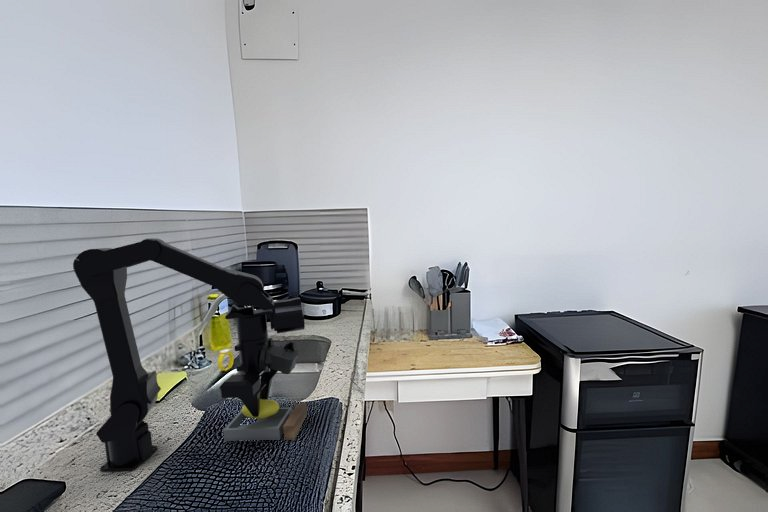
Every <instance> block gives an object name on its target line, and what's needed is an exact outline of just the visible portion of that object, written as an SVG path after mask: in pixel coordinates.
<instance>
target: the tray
mask: <svg viewBox="0 0 768 512" xmlns="http://www.w3.org/2000/svg"><path fill="white" fill-rule="evenodd" d="M293 410H294V409H293V407H292V406H291V407H279V410H278V412H277V413H276V414H274V415H272V416H269V417H267V418H264V419H258V420H257V421H256V422H251V424H248V425H247V424H242V425H240V423H241V422H242V420H243V419H244V418H249V417H246V416H244V415H243V413H242V409H241V410H240V411H239V412H238V413H237V414H236V415H235V416H234V418H233V419H232V420H231V421H230V422H229V423H228V424H226V426H225V427H224V428H223V440H224V441H236V440H280V439H281V440H282V438H283V436H284V435H283V434H284V430H283V426H284V424H285V423H286V421H287V419H288V418H289V416H290V415H291V413H292V411H293ZM239 425H240V426H239ZM282 435H283V436H282ZM281 437H282V438H281ZM281 440H280V441H281Z"/></svg>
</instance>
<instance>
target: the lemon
mask: <svg viewBox="0 0 768 512" xmlns="http://www.w3.org/2000/svg"><path fill="white" fill-rule="evenodd" d="M279 408H280V404H279V403H278V401H276V400H274V399H268V400H264V399H260V409H259V416H258V417H253V416H252V414H251V413H250V412H249V410H248V409H247V407H246V406H245V405H244V404H243V406H242V408H241V410H242V413H243V415H244V416H246V417H249V418H256V419H264V418H267V417H269V416H272V415H274V414H276V413H277V412H278V410H279Z"/></svg>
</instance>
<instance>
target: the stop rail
mask: <svg viewBox="0 0 768 512" xmlns="http://www.w3.org/2000/svg"><path fill="white" fill-rule="evenodd" d="M307 406H308V405H307V403H306V402H305V403H301V402H300V403H296V405H295V406H294V409H292V410H293V411H292V413H291V415H290V416H289V418H288V419H287V421H286V423H285V424H284V426H283V430H284V435H283V439H284V441H285V440H295V441H296V439H297V438H296V436H297V434H298V432H299V431H300V432H301V430H300V428H301V427H302V428H303V426H302V424H303V422H304V420H305V418H306V416H307V415H308V407H307ZM304 423H305V422H304ZM303 425H304V424H303ZM302 428H301V429H302ZM300 432H299V433H300ZM298 435H299V434H298ZM297 437H298V436H297ZM295 438H296V439H295Z"/></svg>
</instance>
